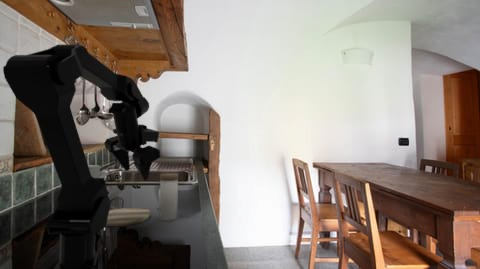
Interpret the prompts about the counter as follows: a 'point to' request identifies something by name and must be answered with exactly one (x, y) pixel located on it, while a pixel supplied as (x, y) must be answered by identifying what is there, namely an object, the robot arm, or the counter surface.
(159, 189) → the grey upright block
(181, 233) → the counter surface
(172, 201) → the translucent tall glass
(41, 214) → the counter surface
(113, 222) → the wooden board
